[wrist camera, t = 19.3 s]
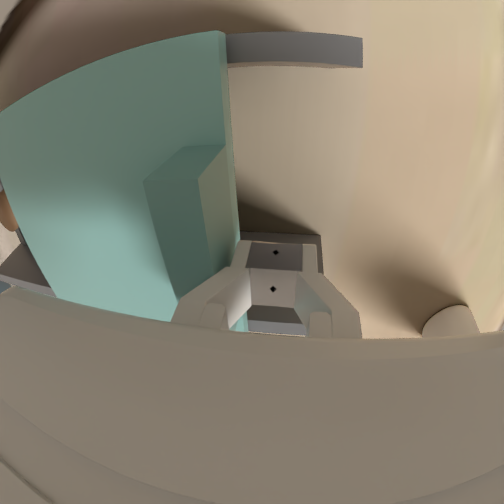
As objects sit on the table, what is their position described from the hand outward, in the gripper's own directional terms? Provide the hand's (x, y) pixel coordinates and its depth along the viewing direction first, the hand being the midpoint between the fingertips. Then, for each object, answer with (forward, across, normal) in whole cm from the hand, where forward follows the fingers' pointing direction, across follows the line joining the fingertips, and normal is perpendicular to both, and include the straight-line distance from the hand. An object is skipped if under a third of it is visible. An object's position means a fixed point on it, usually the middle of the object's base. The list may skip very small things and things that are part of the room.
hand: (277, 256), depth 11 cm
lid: (+2, -9, 0) cm, 9 cm away
